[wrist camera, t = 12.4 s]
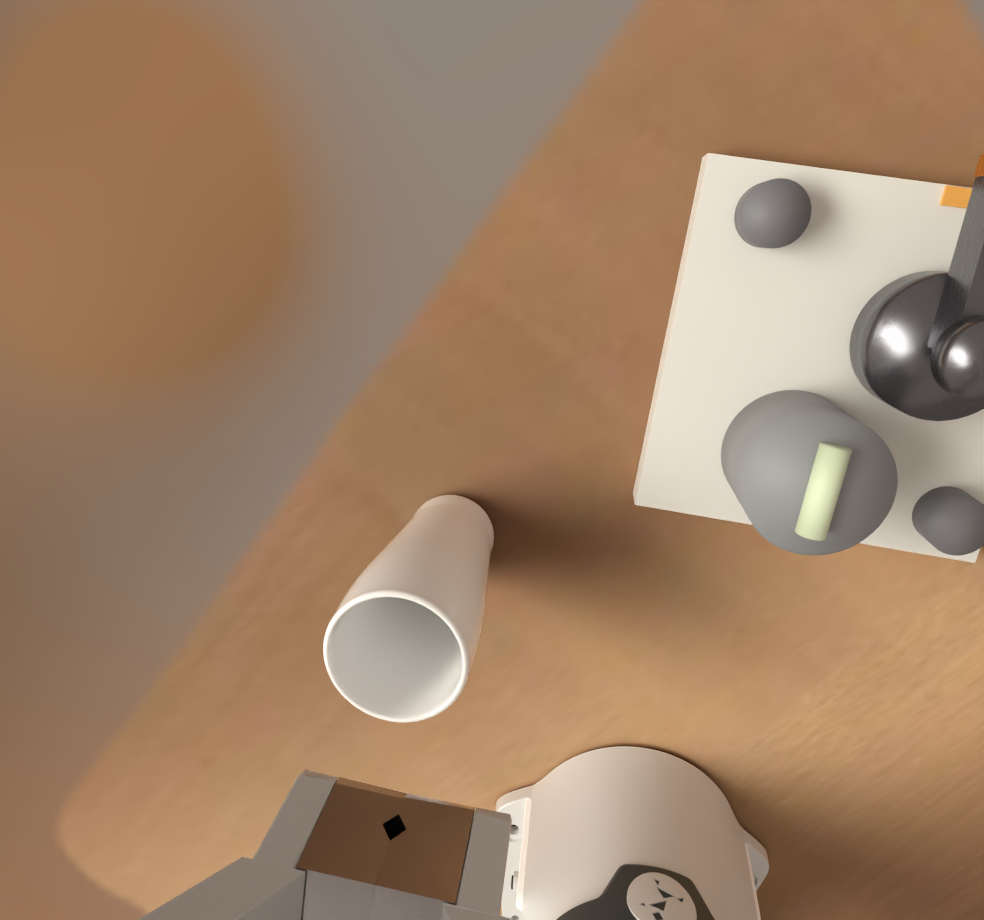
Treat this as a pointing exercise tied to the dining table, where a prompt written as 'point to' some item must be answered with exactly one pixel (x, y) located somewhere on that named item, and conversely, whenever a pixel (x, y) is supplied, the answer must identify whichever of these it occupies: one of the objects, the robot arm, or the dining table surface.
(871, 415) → the base
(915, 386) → the knob
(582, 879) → the robot arm
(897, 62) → the dining table surface
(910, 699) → the dining table surface
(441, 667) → the drinking glass
